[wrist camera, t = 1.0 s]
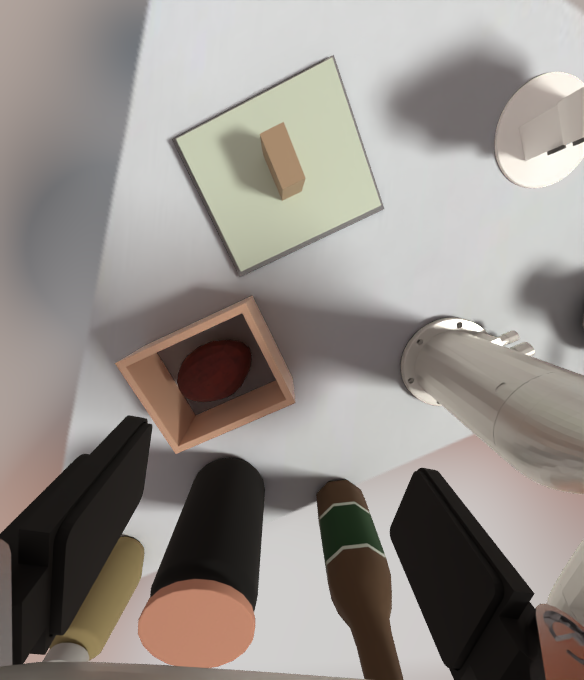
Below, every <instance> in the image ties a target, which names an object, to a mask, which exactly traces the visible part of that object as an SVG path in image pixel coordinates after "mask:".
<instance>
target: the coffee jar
mask: <svg viewBox="0 0 584 680" xmlns="http://www.w3.org/2000/svg"><path fill="white" fill-rule="evenodd" d="M264 495H265V487H264V482H263V479H262V477H261V476H260V474H259V472H258V471H257V470H256V469H255V468H254V467H253V466H252V465H251V464H249V463H248V462H246V461H243V460H241V459H238V458H222V459H218V460H216V461H214V462H211V463H209V464H207V465H206V466H205V467H204V468H203V469H202V470H200V471H199V472H198V474H197V476H196V478H195V480H194V482H193V484H192V487H191V489H190V492H189V494H188V497H187V499H186V502H185V504H184V507H183V509H182V512H181V514H180V517H179V519H178V522H177V524H176V527H175V529H174V532H173V534H172V537H171V539H170V542H169V544H168V547H167V549H166V552H165V554H164V557H163V559H162V562H161V564H160V567H159V569H158V572H157V574H156V577H155V579H154V582H153V584H152V587H151V594H150V595H151V596H150V598H149V600H148V602H147V604H146V606H145V608H144V610H143V611H142V613H141V616H140V618H139V622H138V635H139V637H140V640H141V642H142V644H143V646H144V647H145V648H146V649H147V650H148V651H149V652H150V653H151V654H152V655H153V656H154V657H156V658H158V659H159V660H161V661H163V662H165V663H167V664H170V665H174V666H184V667H199V668H212V667H218V666H220V665H223V664H226V663H228V662H231V661H233V660H234V659H236V658H237V657H239V656H240V655H241V654H243V653H244V652H245V651H246V649H247V648H248V646H249V645H250V644H251V642H252V640H253V636H254V630H255V616H254V610H255V606H256V601H257V595H258V582H259V581H258V580H259V567H260V553H261V537H262V524H263V509H264Z"/></svg>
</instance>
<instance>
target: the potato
mask: <svg viewBox="0 0 584 680" xmlns="http://www.w3.org/2000/svg"><path fill="white" fill-rule="evenodd" d="M251 358H252V355H251V352H250V348H249V347H248V346H247V345H246V344H244V343H243V342H240V341H234V340H219V341H212V342H209V343H207V344H204V345H202V346H199V347H198V348H197V349H195V350H194V351H193V352H192V353H190V354H189V355H188V356H187V357H186V358H185V360H184V361H183V363H182V365H181V367H180V370H179V373H178V379H177V383H178V388H179V390H180V392H181V393H182V395H183V396H185V397H186V398H188V399H190V400H193V401H198V402H208V401H215V400H219V399H223V398H226V397H228V396H230V395H232V394H234V393H235V392H236V391H237V390H238V389H239V388H240V387H241V386H242V384H243V382H244V380H245V378H246V376H247V374H248V371H249V369H250V367H251Z"/></svg>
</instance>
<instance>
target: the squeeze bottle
mask: <svg viewBox="0 0 584 680" xmlns="http://www.w3.org/2000/svg"><path fill="white" fill-rule="evenodd" d="M143 560H144V547H143V546H142V545H141V543H140V542H138V541H137V540H135V539H133V538H130V537H120V538H119V540H118V541H117V543H116V545H115V547H114V549H113V550H112V552H111V554H110V556H109V557H108V559H107V561H106V563H105V565H104V566H103V568H102V570H101V572H100V573H99V575H98V577H97V579H96V581H95V582H94V584H93V586H92V588H91V589H90V591H89V593H88V595H87V597H86V598H85V600H84V602H83V604H82V605H81V607H80V609H79V611H78V613H77V614H76V616H75V618H74V620H73V621H72V623H71V625H70V627H69V628H68V630H67V631H66V633H65V634H64V635H63V636H60V635H56V636H55V638H54V640H53V642H52V643H51V645H50V647H49V648H50V650H49V652H48V653H47V655H46V657H45V658H44V660H43V661H42V662H88V661H89V660H91V659H93V658H95V657H96V656H97V655H98V654H100V653H101V651H102V649H103V647H104V646H105V644H106V642H107V640H108V638H109V636H110V635H111V633H112V631H113V629H114V627H115V625H116V624H117V622H118V620H119V618H120V616H121V614H122V613H123V611H124V609H125V607H126V605H127V604H128V602H129V600H130V598H131V596H132V594H133V593H134V591H135V589H136V587H137V585H138V583H139V581H140V578H141V575H142V567H143Z"/></svg>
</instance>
